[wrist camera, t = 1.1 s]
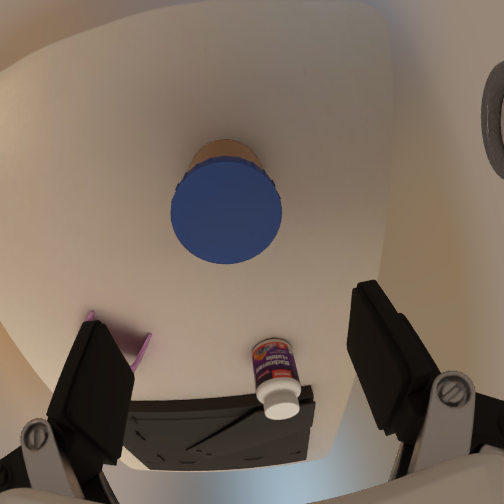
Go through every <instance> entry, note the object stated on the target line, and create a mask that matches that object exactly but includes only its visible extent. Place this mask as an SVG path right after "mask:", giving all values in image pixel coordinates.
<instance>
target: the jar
mask: <svg viewBox="0 0 504 504" xmlns="http://www.w3.org/2000/svg"><path fill="white" fill-rule="evenodd" d="M224 155H225V156H233V157H238V156H240V158H242V159H246V160H248V161H250V162H252V161H253V162H254V164H255V165H257V166H259V167H260V168H261V169H262V170H263V167H262V165H261V163H260V161H259V160H258V158H257V156H256V154H255V153H254V152H253V151H252V150H251V149H250V148H249V147H248V146H246V145H245V144H243V143H241V142H238V141H235V140H228V139H223V140H217V141H214V142H211V143H209V144H207V145H205V146H204V147H202V148H201V149H200V150H199V151H198V152H197V154H196V155H195V156H194V158H193V160H192V162H191V164H190V166H189V169H188V171H187V173H188V172H189V171H190V170H191V169H192V168H193V167H194V166H195V165H196V164H197V163H198V164H199V163H201V162H203V161H205V160H208V159H209V157H211V158H214V157H220V156H224Z"/></svg>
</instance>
